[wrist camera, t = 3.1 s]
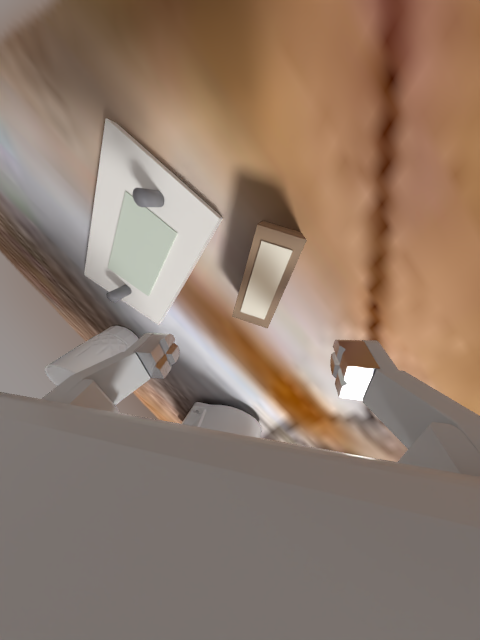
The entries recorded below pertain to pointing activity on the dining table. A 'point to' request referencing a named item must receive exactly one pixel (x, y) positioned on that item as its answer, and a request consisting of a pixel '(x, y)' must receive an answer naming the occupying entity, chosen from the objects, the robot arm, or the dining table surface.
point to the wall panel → (144, 227)
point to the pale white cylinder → (91, 353)
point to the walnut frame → (267, 272)
